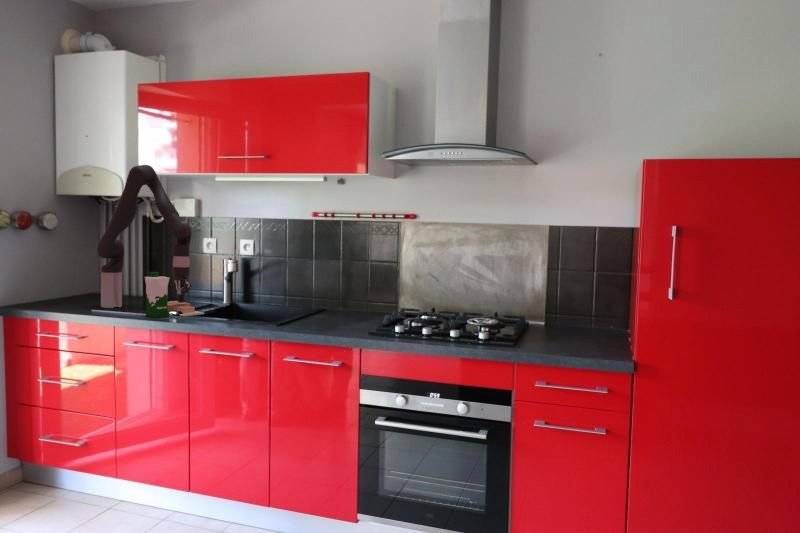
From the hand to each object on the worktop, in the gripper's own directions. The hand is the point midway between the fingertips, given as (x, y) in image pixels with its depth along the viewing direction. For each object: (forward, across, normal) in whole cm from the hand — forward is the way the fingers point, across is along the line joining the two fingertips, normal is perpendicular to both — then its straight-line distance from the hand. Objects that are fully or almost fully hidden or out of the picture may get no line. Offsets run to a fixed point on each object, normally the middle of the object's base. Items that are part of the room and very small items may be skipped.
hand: (181, 302), depth 312 cm
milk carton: (+5, +2, -14) cm, 15 cm away
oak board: (+5, -7, 0) cm, 9 cm away
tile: (+4, +3, 0) cm, 5 cm away
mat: (+5, +4, 0) cm, 7 cm away
